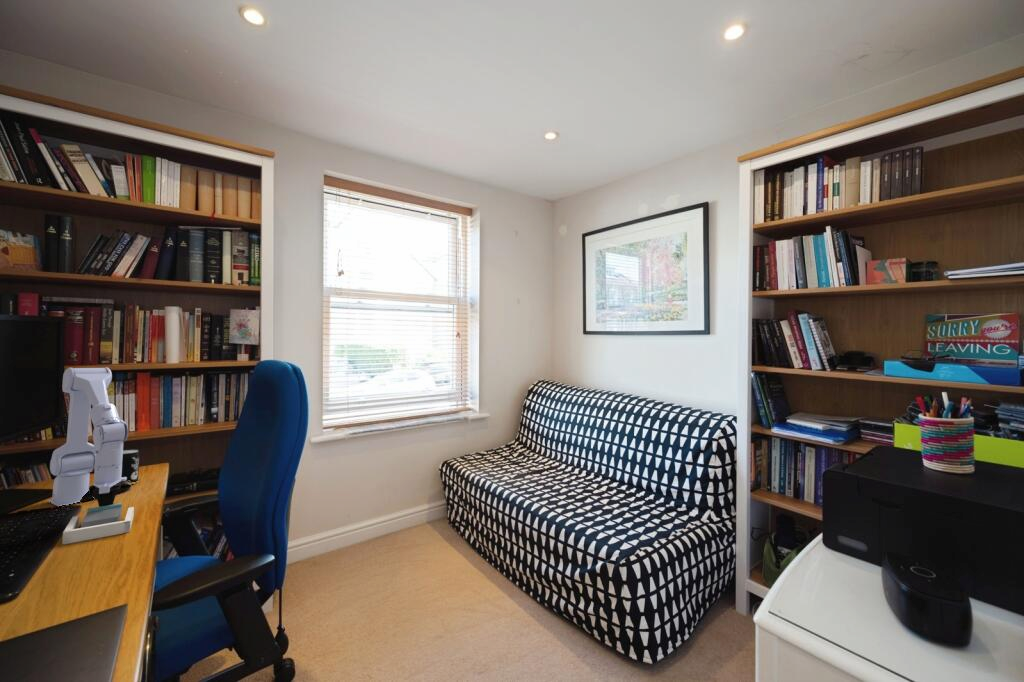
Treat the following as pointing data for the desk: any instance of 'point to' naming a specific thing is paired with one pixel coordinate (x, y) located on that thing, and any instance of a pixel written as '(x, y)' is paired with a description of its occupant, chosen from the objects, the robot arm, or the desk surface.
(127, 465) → the beverage can
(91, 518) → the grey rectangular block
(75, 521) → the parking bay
